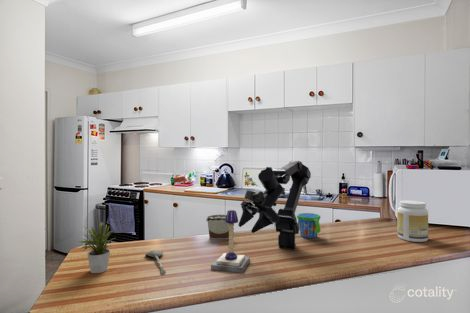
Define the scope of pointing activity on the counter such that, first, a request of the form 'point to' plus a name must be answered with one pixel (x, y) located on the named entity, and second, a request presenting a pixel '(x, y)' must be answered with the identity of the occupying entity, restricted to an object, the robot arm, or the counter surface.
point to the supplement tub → (412, 221)
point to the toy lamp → (231, 233)
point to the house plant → (97, 249)
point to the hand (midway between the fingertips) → (245, 229)
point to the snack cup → (309, 224)
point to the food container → (218, 227)
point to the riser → (230, 263)
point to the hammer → (155, 254)
